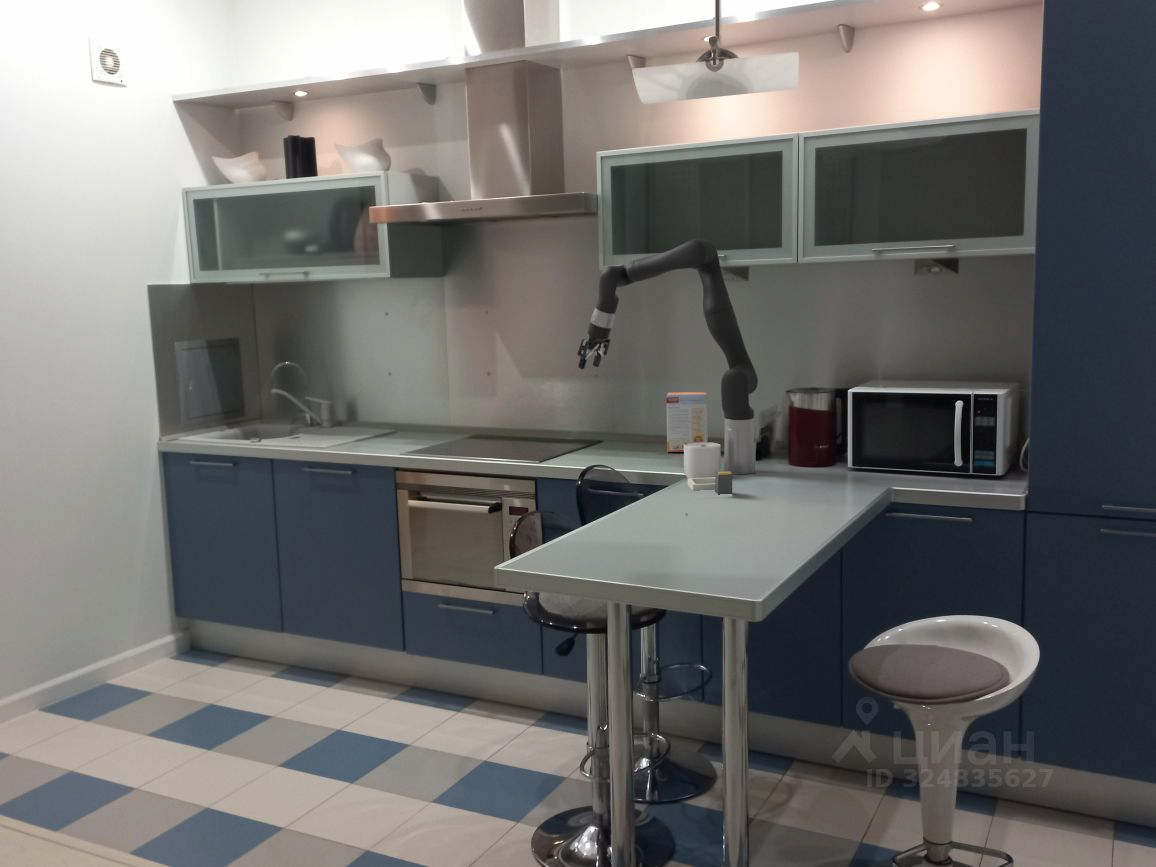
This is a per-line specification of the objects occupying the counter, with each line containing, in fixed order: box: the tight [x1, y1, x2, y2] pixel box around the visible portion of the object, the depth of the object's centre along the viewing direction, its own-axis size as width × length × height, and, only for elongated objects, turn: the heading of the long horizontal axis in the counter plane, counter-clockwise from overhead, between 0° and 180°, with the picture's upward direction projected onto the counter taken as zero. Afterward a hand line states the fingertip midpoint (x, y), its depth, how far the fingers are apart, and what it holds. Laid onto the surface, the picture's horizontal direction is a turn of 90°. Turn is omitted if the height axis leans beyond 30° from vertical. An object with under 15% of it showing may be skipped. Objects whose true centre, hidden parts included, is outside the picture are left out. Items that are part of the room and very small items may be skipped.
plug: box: [715, 471, 733, 495], centre depth 292 cm, size 4×4×7 cm
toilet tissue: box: [683, 441, 722, 479], centre depth 320 cm, size 11×12×10 cm
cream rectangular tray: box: [687, 477, 715, 491], centre depth 297 cm, size 11×18×3 cm, turn 4°
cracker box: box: [666, 391, 709, 452], centre depth 361 cm, size 14×6×21 cm, turn 80°
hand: (588, 367), depth 353 cm, fingers open, 8 cm apart
